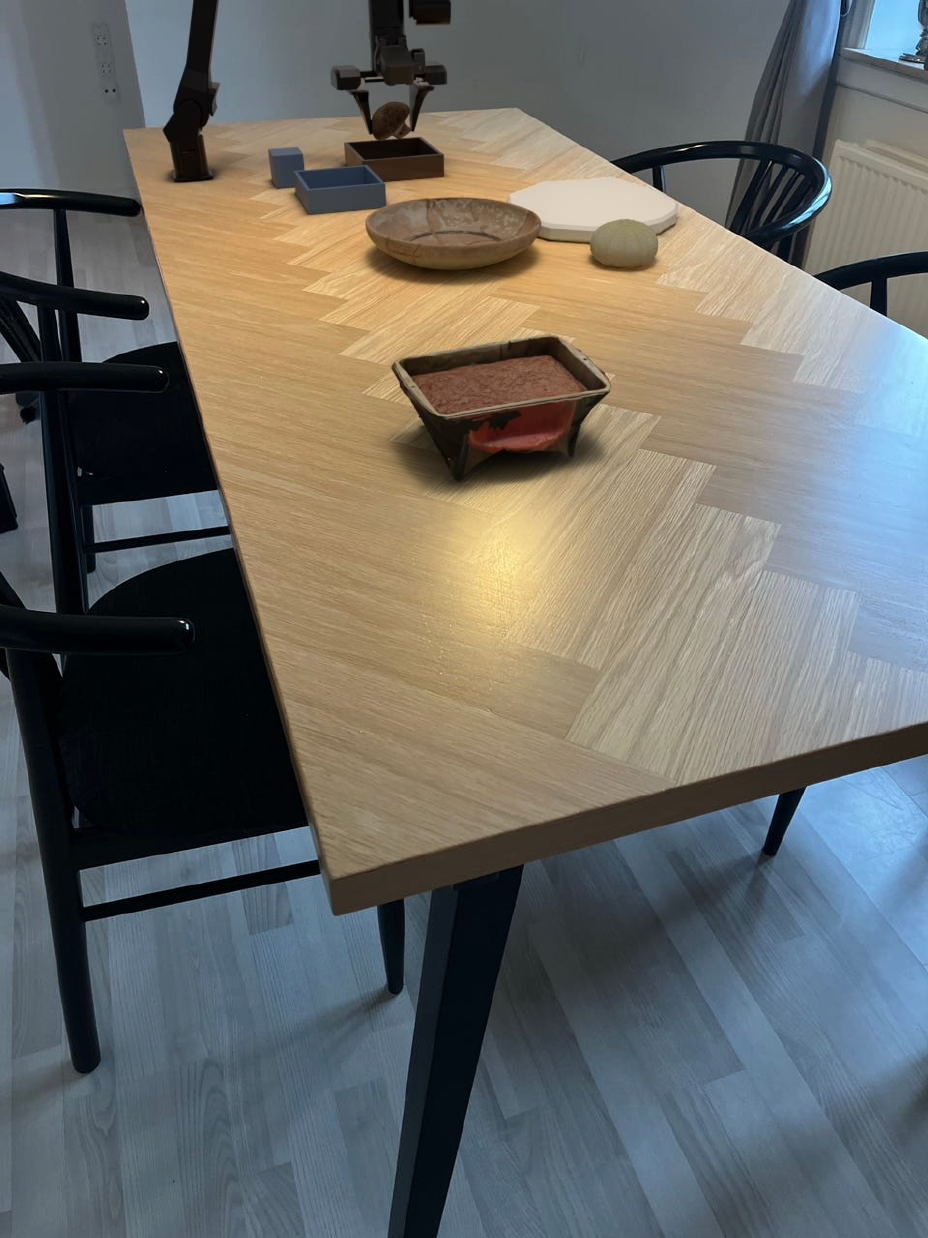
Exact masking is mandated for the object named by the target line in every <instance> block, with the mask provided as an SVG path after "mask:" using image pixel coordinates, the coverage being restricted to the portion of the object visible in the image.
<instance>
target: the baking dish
mask: <svg viewBox="0 0 928 1238" xmlns="http://www.w3.org/2000/svg"><path fill="white" fill-rule="evenodd" d="M390 368H391V371H392V373H393V375H394V376H395V378H396V379H397V381H398V383H399V388H400V390H401V391H402V392H403V394H404V395H405V396H406V397H407V398H408V400H409V401H410V403H411V404H412V407H413V408H414V410H415V412H416V413H417V415H418V418H420V420H421V422H422V423H423V424H424V426H425V428H426V431H427V432H428V433H429V436H430V438H431V439H432V441H433V443H434V444H435V446H436V448H437V450H438V452H439V454H440V455H441V457H442V459H443V461H444V463H445V465H446V466H447V468H448V470H449V472H450V474H451V475H452V476H453V479H454V480H455V481H456V482H457V483H459V482H460V480H461V479H463V477H464V476H465V475H466V474H468V473H469V472H470V471H471V470H472V469H473V468H475V467H476V466H477V465H479V464H481V463H482V462H484V461H485V460H487V459H488V458H490V457H492V456H493V455H496V453H498V452H500V451H501V450H504V451H506V452H509V453H516V454H517V453H518V454H527V455H528V454H530V453H533V452H536V451H539V452H540V451H541V452H543V451H545V452H561V453H562V454H564V455H566V456H568V457H569V458H572V459H573V458H574V454H575V450H576V445H577V441H578V437H579V433H580V428H581V425H582V424H583V423H584V421H585V419H586V418H587V417H588V415H589V414H590V412H591V411H592V410H593V409H594V408H596V406H597V405H598V404H599V403H600V402H601V401H602V400H603V399H604V398H605V397H606V396H608V395H609V394H610V392H611V390H612V385H611V382H610V378H609V377H608V376H607V374H606V372H605V371H603V370H602V369H601V368H599V367H598V365H596V364H594V362H593V361H592V360H591V359H590V358H589V357H588V355H586V354H584V353H583V352H582V350H581V349H579V348H577V347H575V346H574V345H573V344H572V343H570V342H569V341H567V340H566V339H564V338H563V337H562V336H559V335H557V334H551V333H549V334H539V335H533V336H528V337H522V338H514V339H509V340H501V341H494V342H488V343H482V344H476V345H469V346H463V347H458V348H454V349H453V348H452V349H446V350H439V351H435V352H429V353H423V354H416V355H414V354H413V355H407V356H405V357H401V358H397V359H396V360H394V362H393V363H392V364H391V367H390Z"/></svg>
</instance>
